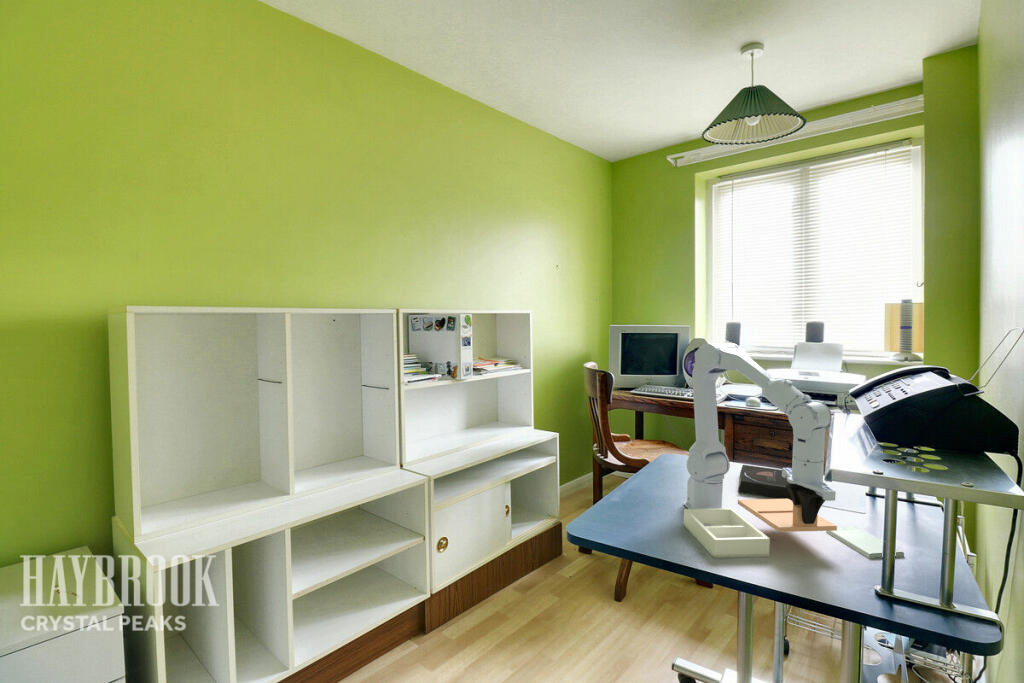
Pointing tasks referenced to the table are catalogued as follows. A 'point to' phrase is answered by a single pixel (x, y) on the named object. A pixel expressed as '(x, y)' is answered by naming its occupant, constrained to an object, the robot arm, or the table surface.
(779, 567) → the table surface
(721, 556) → the tub
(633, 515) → the table surface
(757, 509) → the lid
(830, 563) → the table surface
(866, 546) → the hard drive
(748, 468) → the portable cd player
